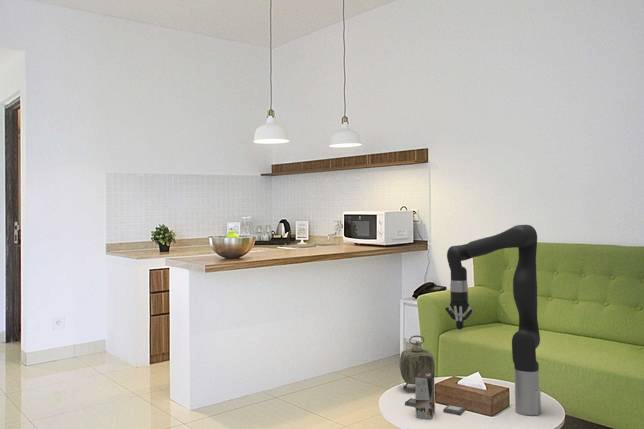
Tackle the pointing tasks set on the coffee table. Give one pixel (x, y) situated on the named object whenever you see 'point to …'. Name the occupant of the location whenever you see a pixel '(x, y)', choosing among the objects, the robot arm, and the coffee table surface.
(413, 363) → the ring-handled stone jug
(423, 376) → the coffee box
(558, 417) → the coffee table surface
